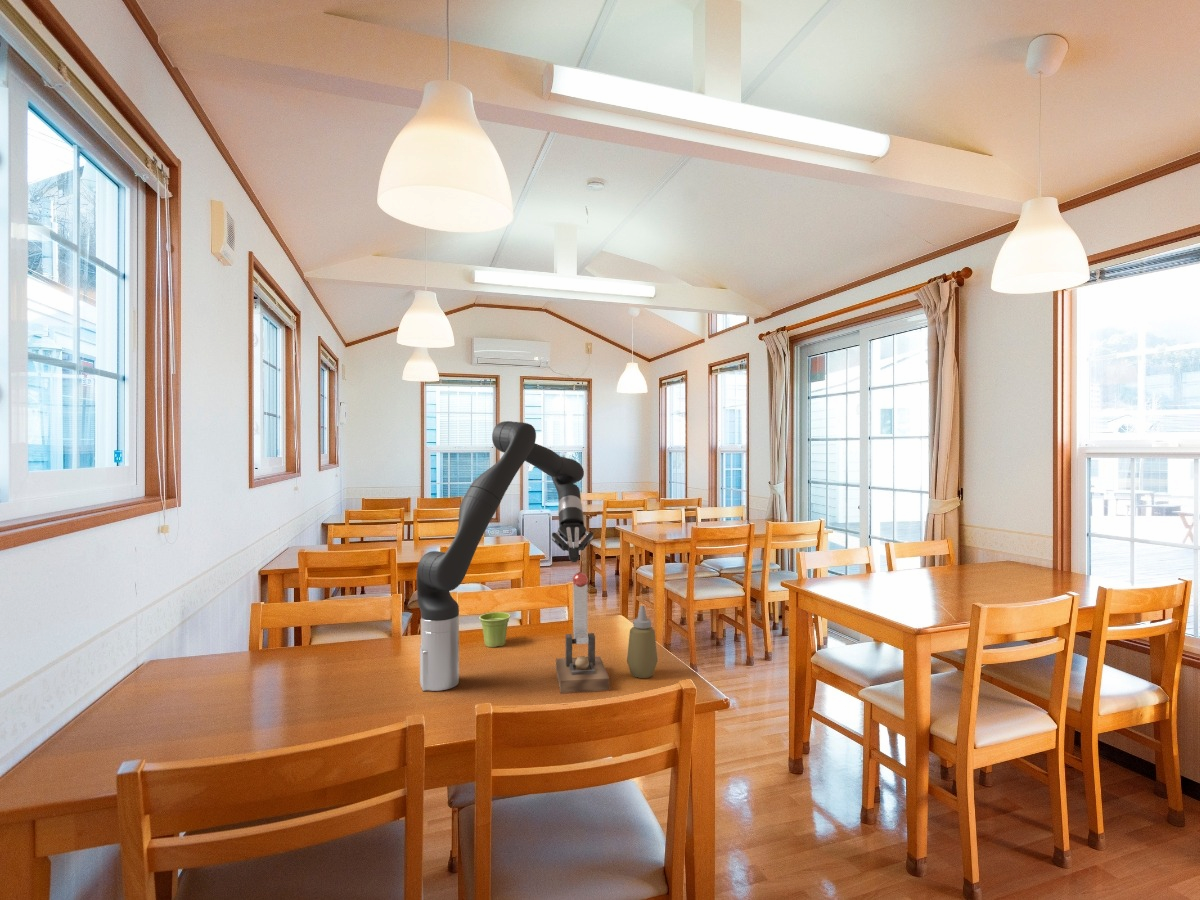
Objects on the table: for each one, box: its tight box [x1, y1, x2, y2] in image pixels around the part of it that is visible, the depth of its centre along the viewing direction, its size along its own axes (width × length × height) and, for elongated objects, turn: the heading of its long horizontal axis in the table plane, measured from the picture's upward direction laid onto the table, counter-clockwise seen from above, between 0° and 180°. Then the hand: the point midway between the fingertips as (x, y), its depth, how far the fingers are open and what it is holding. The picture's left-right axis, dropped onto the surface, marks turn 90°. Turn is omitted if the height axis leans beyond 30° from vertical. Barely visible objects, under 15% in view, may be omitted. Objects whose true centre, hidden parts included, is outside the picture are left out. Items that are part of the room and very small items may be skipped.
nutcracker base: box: [555, 632, 610, 694], centre depth 155 cm, size 12×16×10 cm
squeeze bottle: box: [626, 605, 659, 679], centre depth 159 cm, size 8×8×18 cm
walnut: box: [575, 655, 589, 670], centre depth 154 cm, size 4×4×4 cm
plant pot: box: [478, 611, 511, 648], centre depth 184 cm, size 9×9×9 cm
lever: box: [572, 571, 589, 645], centre depth 157 cm, size 4×8×17 cm, turn 8°
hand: (574, 560), depth 174 cm, fingers closed
